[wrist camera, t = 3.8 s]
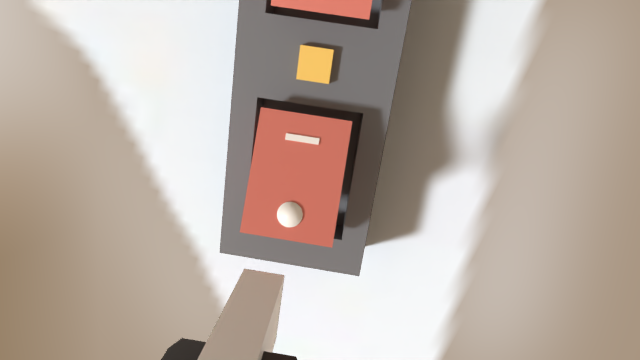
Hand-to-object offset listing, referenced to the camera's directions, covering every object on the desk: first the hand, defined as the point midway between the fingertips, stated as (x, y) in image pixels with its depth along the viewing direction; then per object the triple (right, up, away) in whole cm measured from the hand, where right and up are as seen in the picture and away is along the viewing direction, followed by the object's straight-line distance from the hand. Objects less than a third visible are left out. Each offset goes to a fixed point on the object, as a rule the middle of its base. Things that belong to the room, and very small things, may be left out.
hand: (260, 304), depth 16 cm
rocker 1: (+1, +5, +7) cm, 8 cm away
